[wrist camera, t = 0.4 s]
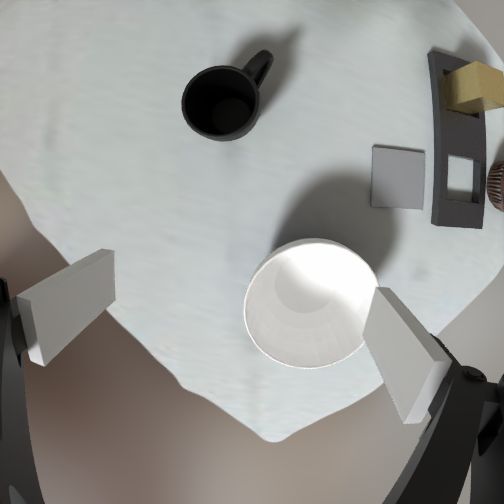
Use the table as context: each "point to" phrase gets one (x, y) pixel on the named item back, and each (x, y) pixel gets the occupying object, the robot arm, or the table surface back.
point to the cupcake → (496, 185)
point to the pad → (397, 178)
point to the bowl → (309, 303)
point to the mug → (226, 99)
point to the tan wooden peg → (474, 88)
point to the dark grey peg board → (455, 150)
